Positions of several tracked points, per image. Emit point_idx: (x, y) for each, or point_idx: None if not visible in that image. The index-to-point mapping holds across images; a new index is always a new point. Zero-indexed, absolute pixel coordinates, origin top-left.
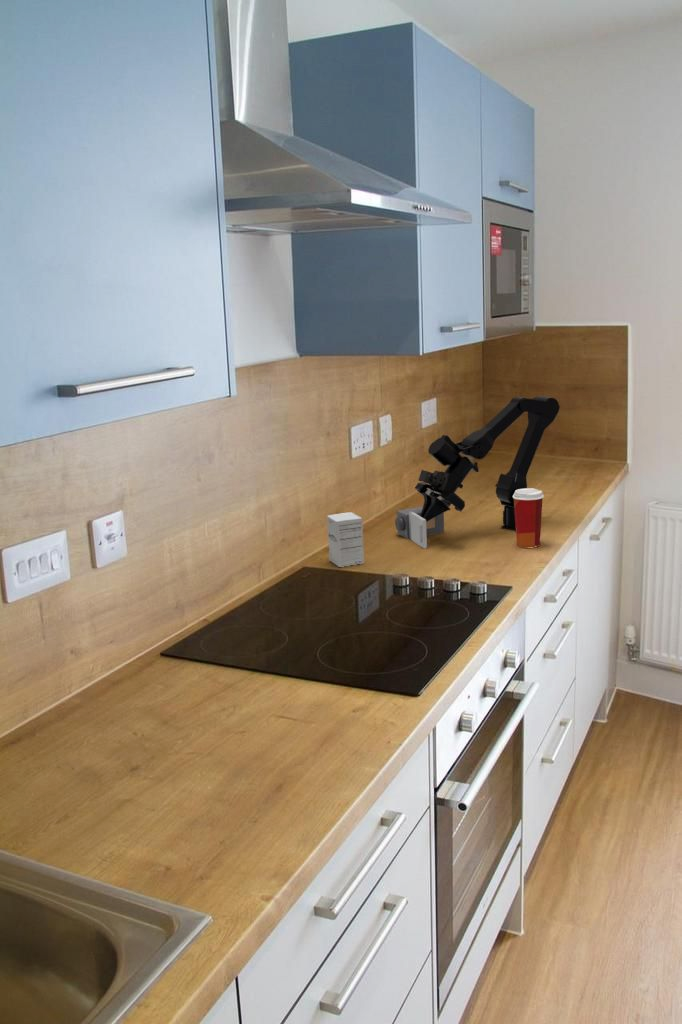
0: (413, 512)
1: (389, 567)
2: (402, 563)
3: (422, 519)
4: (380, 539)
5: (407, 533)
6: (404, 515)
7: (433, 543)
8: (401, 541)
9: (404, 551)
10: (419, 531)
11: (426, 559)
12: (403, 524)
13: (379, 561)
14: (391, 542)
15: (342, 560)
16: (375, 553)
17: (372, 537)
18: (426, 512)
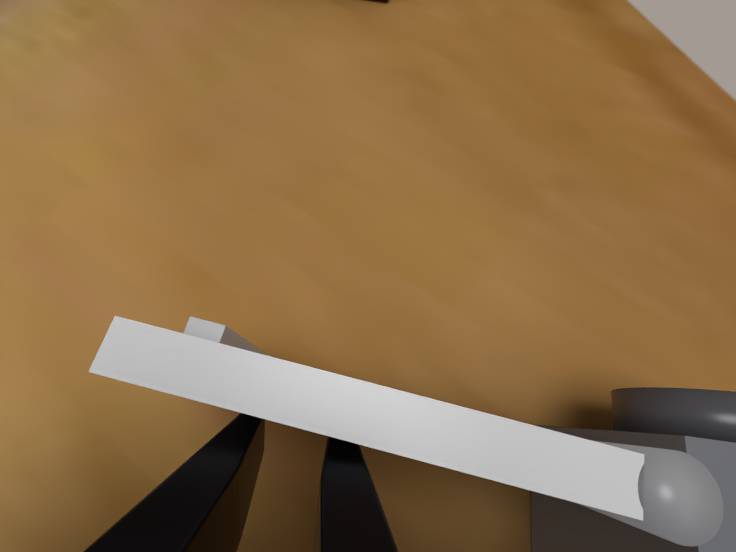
0: (620, 503)
1: (109, 25)
2: (103, 98)
3: (148, 340)
4: (622, 269)
5: (550, 429)
6: (730, 443)
7: (289, 521)
8: (497, 351)
9: (281, 231)
10: (245, 340)
11: (35, 233)
12: (633, 413)
13: (231, 42)
14: (515, 284)
15: None
16: (368, 97)
17: (695, 257)
18: (184, 517)
